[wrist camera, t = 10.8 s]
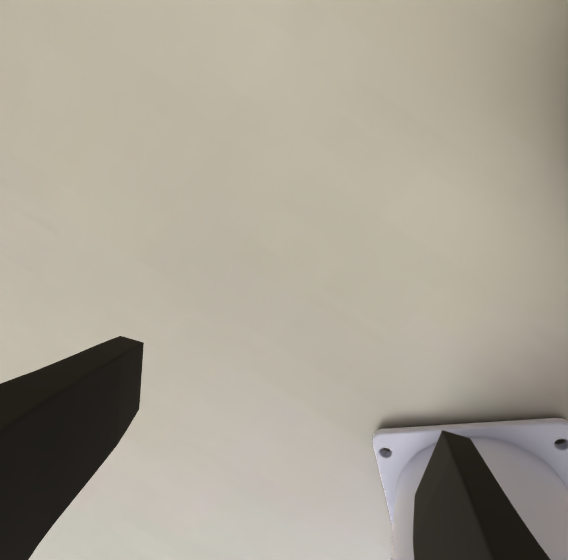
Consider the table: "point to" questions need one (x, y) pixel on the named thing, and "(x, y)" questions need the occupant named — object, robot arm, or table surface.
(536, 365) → the table surface
